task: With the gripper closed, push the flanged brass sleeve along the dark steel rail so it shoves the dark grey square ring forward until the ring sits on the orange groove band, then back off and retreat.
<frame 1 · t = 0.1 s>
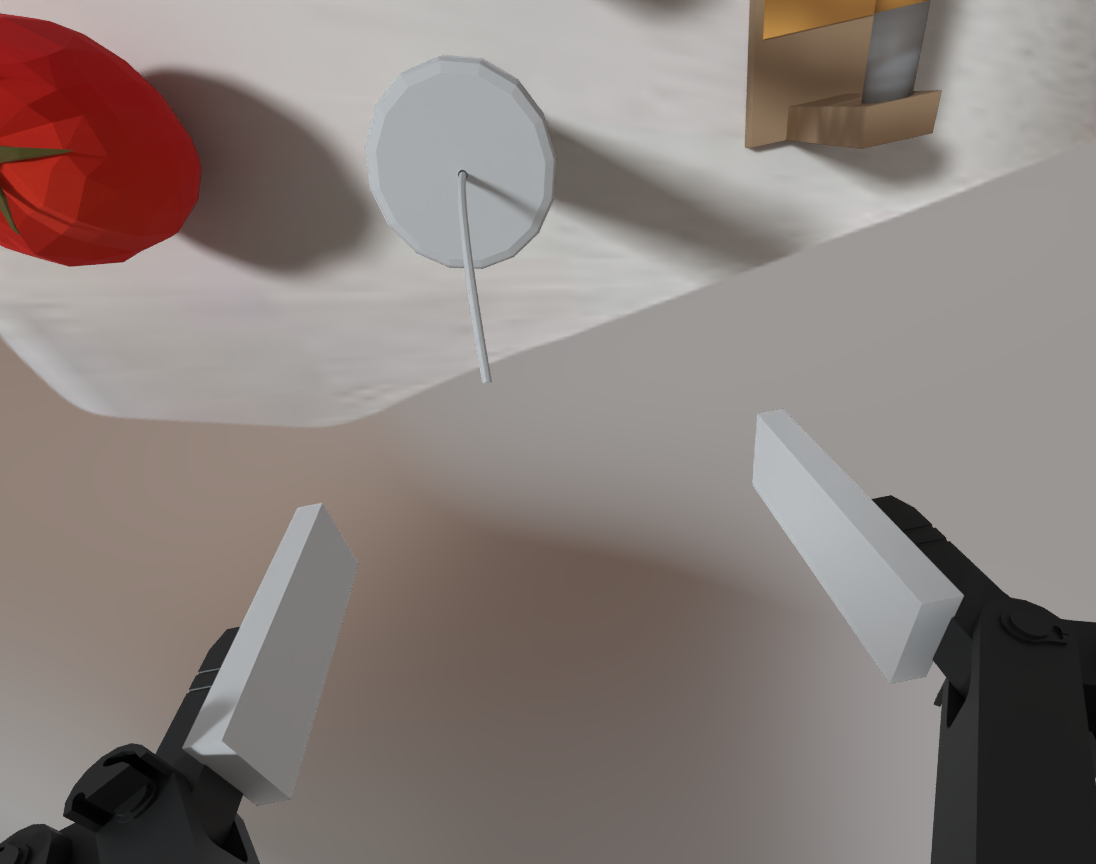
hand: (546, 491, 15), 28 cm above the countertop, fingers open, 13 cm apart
tomato: (136, 143, 32), on the countertop
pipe: (480, 139, 34), on the countertop
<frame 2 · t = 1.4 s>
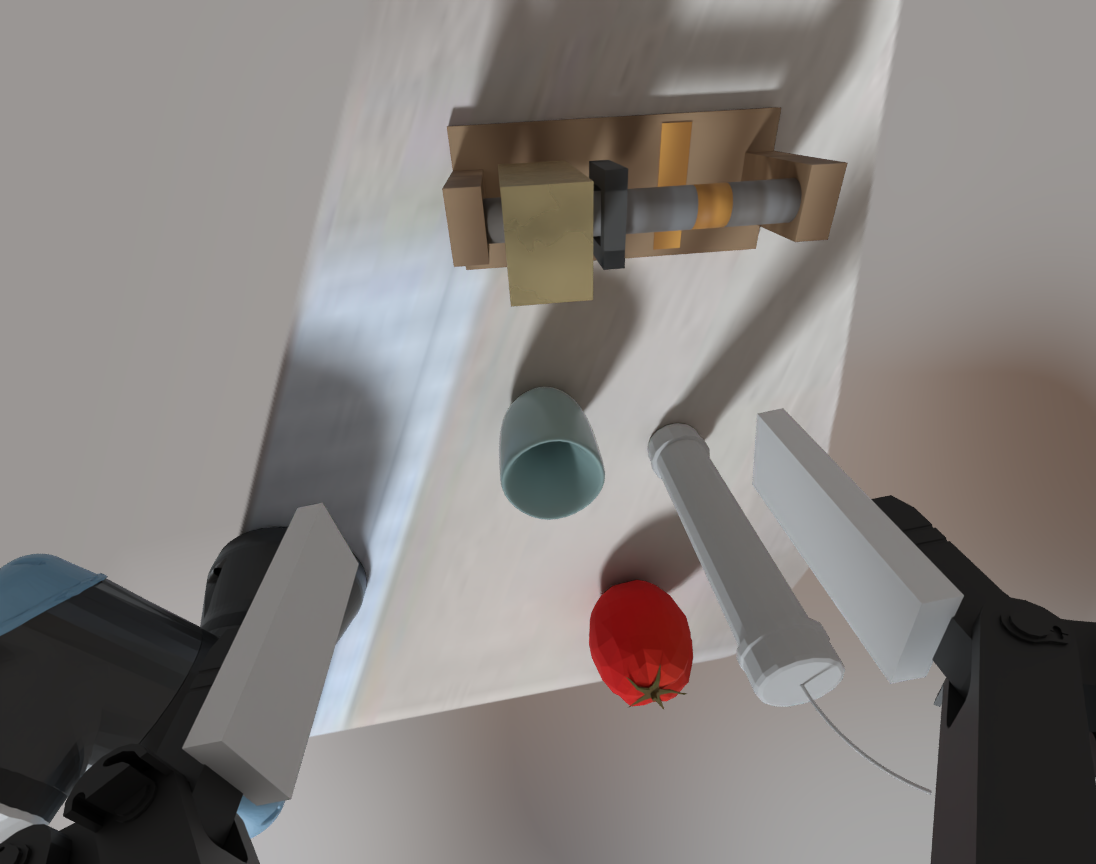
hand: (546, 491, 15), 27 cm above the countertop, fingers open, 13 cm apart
dark grey square ring: (606, 213, 29), point 8 cm above the countertop, slide at -2.0 cm
tomato: (626, 591, 61), on the countertop
cup: (542, 411, 45), on the countertop
rail: (612, 191, 35), on the countertop
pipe: (675, 442, 49), on the countertop
sleeve: (540, 225, 26), point 10 cm above the countertop, slide at -6.0 cm
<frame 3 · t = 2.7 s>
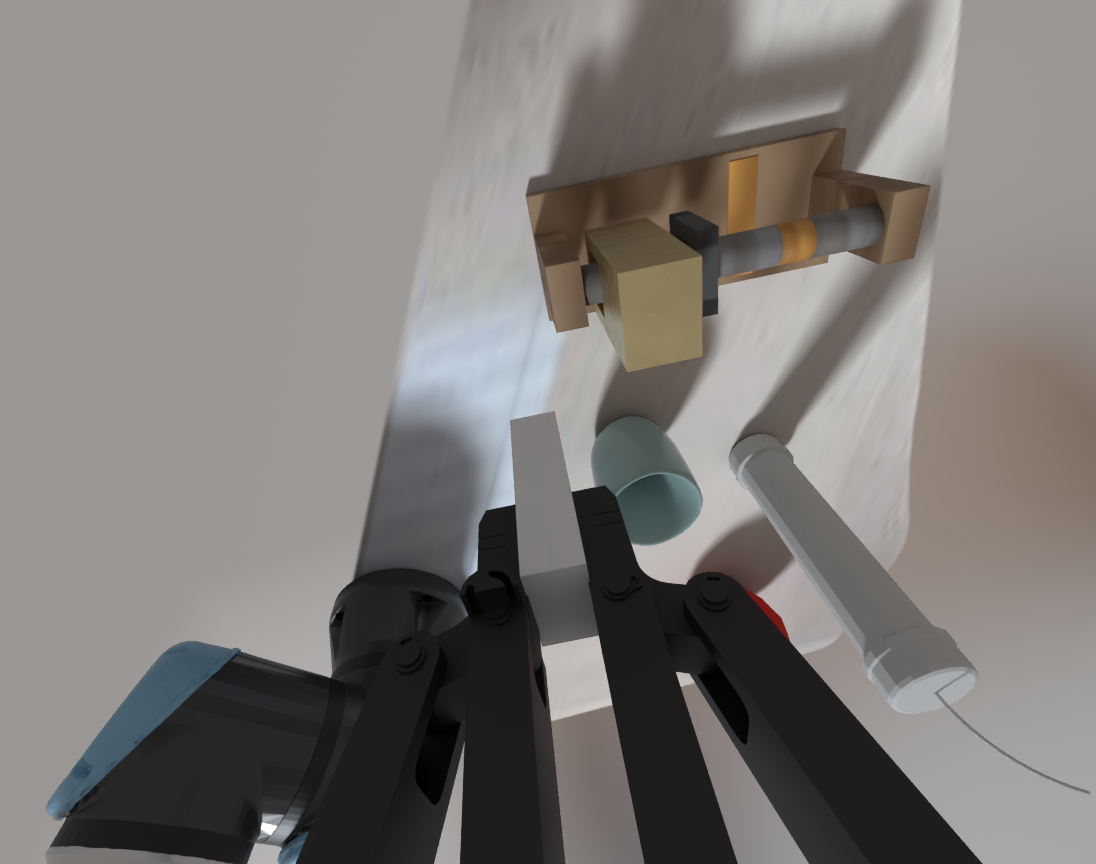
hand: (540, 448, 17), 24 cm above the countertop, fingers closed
dark grey square ring: (692, 262, 30), point 8 cm above the countertop, slide at -2.0 cm
tomato: (714, 596, 62), on the countertop
cup: (624, 438, 47), on the countertop
rail: (682, 229, 37), on the countertop
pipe: (756, 452, 50), on the countertop
sleeve: (637, 287, 28), point 10 cm above the countertop, slide at -6.0 cm
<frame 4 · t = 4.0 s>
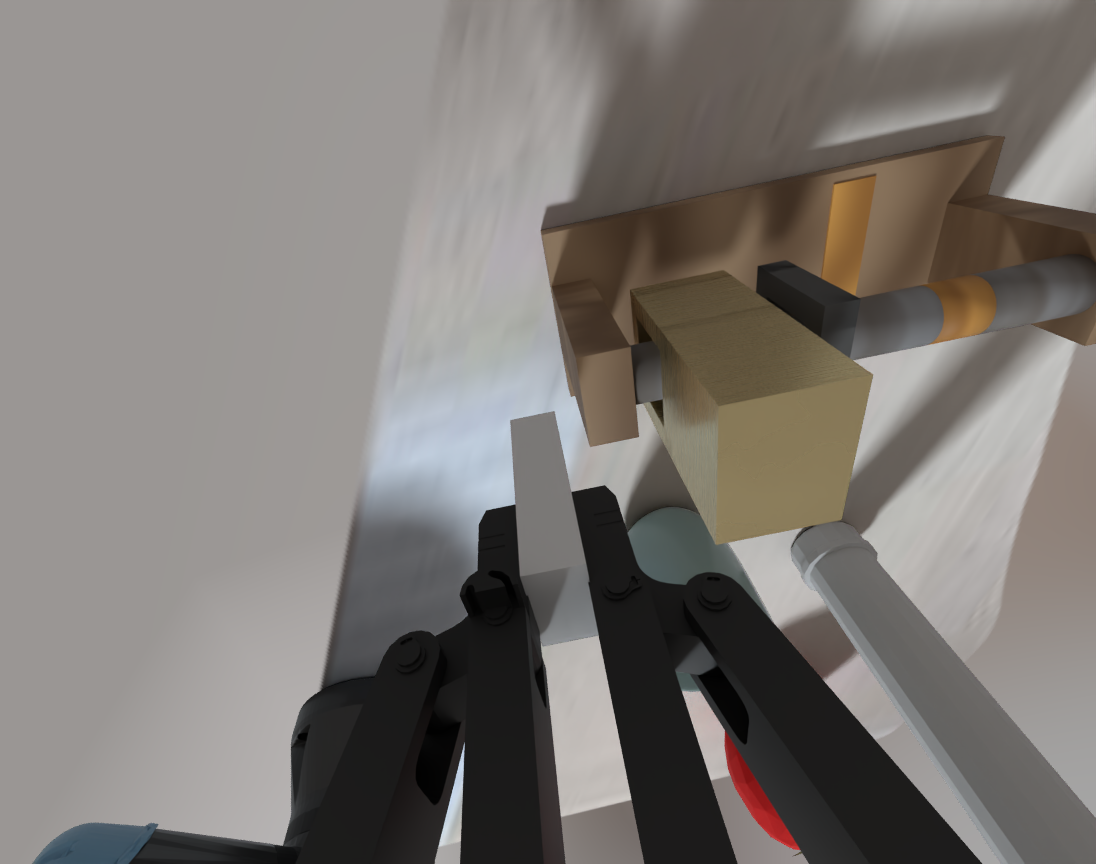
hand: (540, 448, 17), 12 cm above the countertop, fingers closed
dark grey square ring: (796, 341, 20), point 8 cm above the countertop, slide at -2.0 cm
tomato: (758, 692, 52), on the countertop
cup: (661, 528, 37), on the countertop
rail: (756, 274, 26), on the countertop
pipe: (824, 540, 39), on the countertop
sleeve: (720, 388, 18), point 10 cm above the countertop, slide at -6.0 cm
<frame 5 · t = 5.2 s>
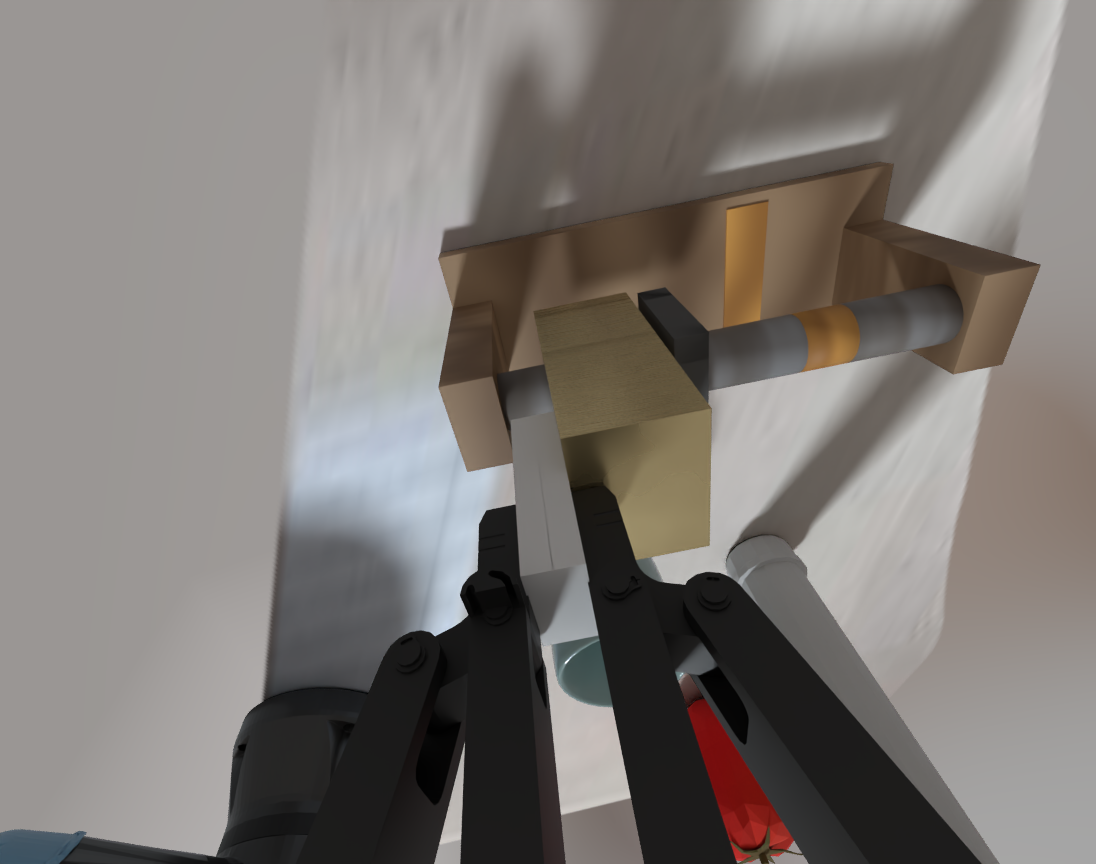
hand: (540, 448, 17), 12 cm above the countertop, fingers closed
dark grey square ring: (671, 368, 20), point 8 cm above the countertop, slide at -2.0 cm
tomato: (708, 702, 52), on the countertop
cup: (593, 542, 37), on the countertop
rail: (662, 296, 27), on the countertop
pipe: (759, 554, 40), on the countertop
sleeve: (608, 411, 18), point 10 cm above the countertop, slide at -5.1 cm, touching gripper
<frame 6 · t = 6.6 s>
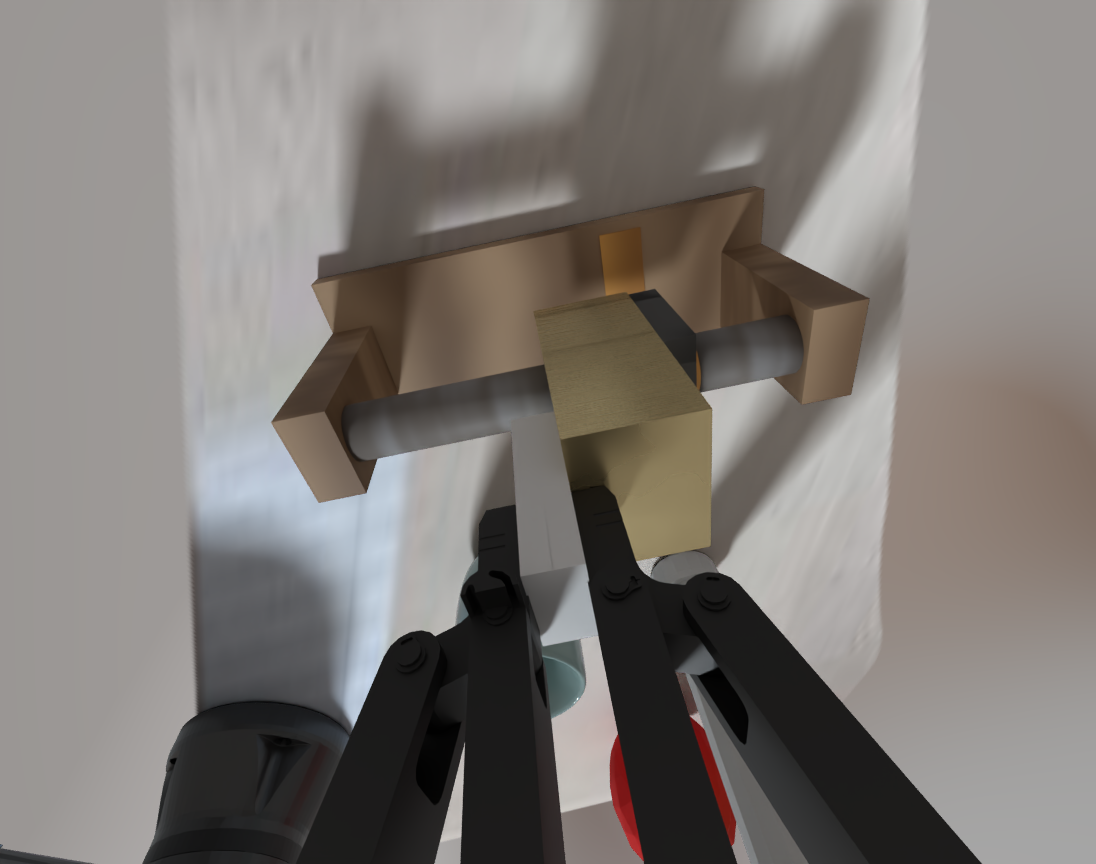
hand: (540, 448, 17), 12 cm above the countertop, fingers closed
dark grey square ring: (660, 370, 20), point 8 cm above the countertop, slide at 3.8 cm, touching sleeve
tomato: (652, 713, 52), on the countertop
cup: (513, 559, 37), on the countertop
rail: (550, 319, 27), on the countertop
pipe: (684, 569, 40), on the countertop
sleeve: (609, 411, 18), point 10 cm above the countertop, slide at 1.2 cm, touching gripper, dark grey square ring
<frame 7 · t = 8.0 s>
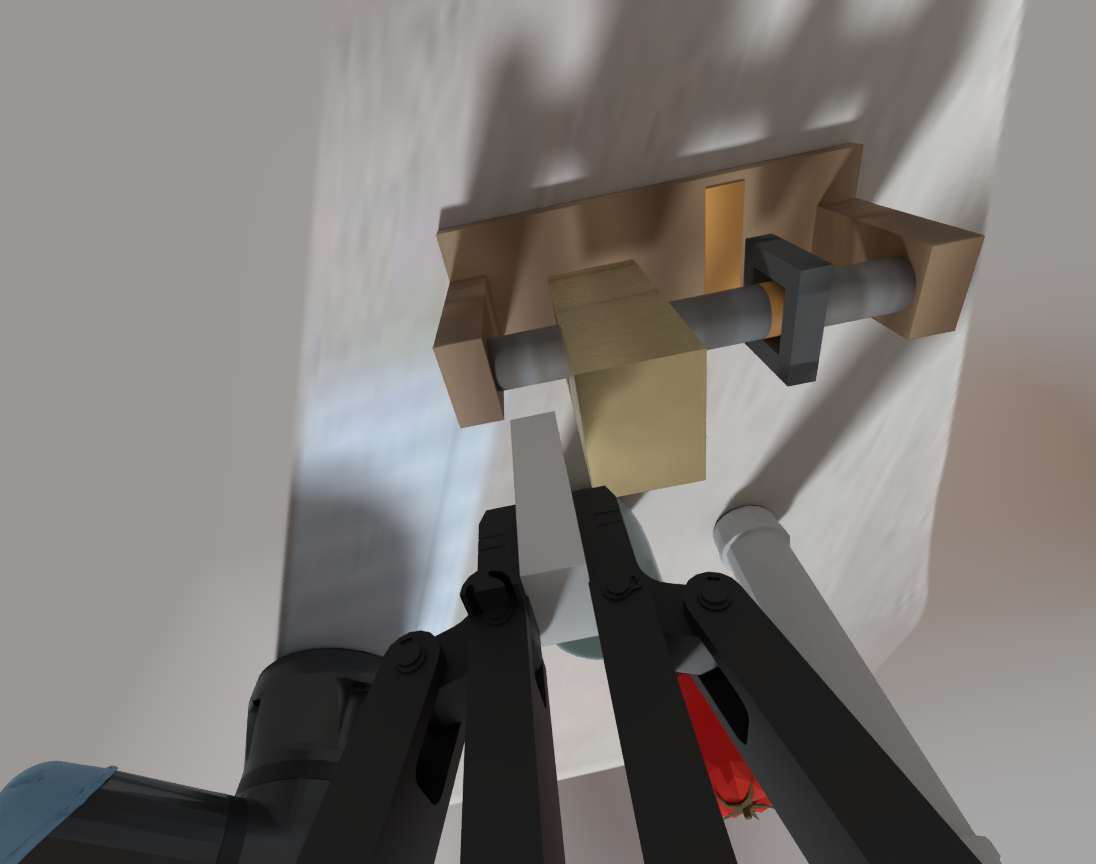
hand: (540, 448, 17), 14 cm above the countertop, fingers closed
dark grey square ring: (779, 307, 22), point 8 cm above the countertop, slide at 3.9 cm
tomato: (699, 671, 54), on the countertop
cup: (585, 511, 39), on the countertop
rail: (647, 271, 28), on the countertop
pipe: (746, 524, 41), on the countertop
sleeve: (616, 365, 20), point 10 cm above the countertop, slide at -3.8 cm
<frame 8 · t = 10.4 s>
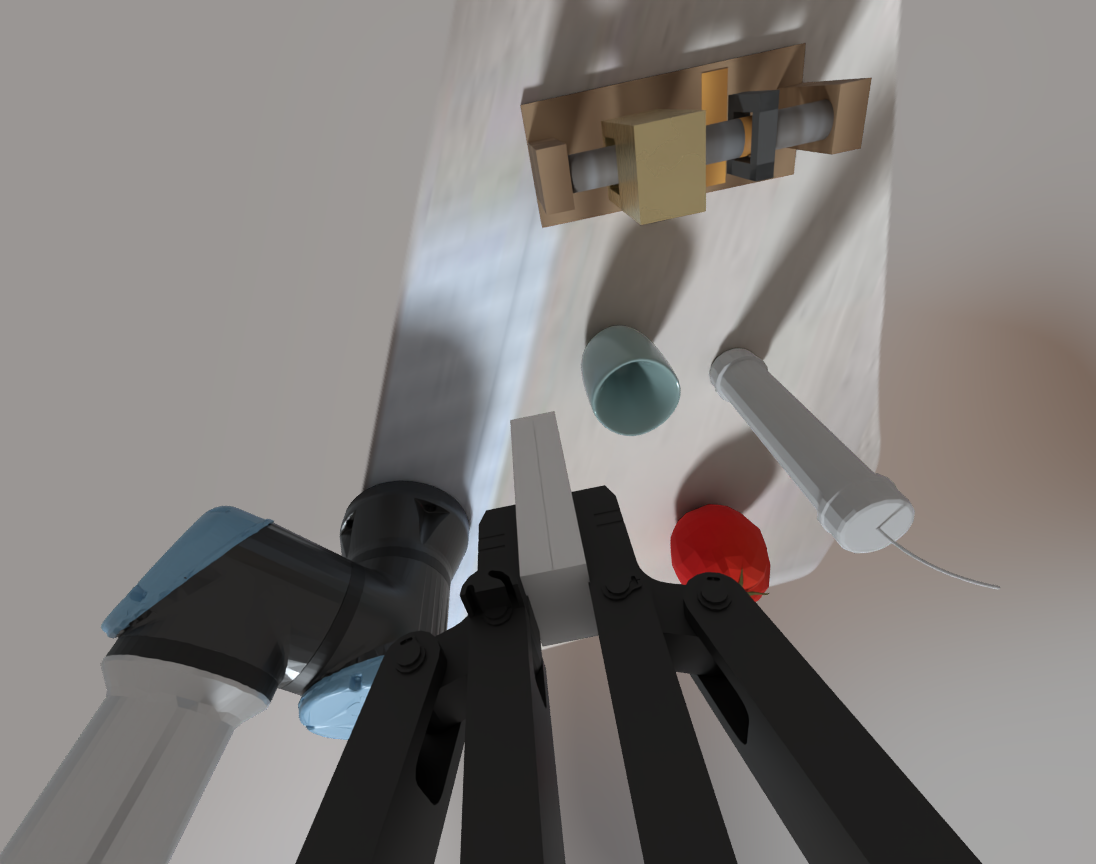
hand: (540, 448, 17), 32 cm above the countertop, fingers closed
dark grey square ring: (750, 135, 34), point 8 cm above the countertop, slide at 3.9 cm
tomato: (699, 518, 66), on the countertop
cup: (612, 350, 51), on the countertop
rail: (661, 140, 41), on the countertop
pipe: (734, 367, 54), on the countertop
sleeve: (649, 162, 32), point 10 cm above the countertop, slide at -3.8 cm
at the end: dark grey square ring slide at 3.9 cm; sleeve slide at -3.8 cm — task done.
